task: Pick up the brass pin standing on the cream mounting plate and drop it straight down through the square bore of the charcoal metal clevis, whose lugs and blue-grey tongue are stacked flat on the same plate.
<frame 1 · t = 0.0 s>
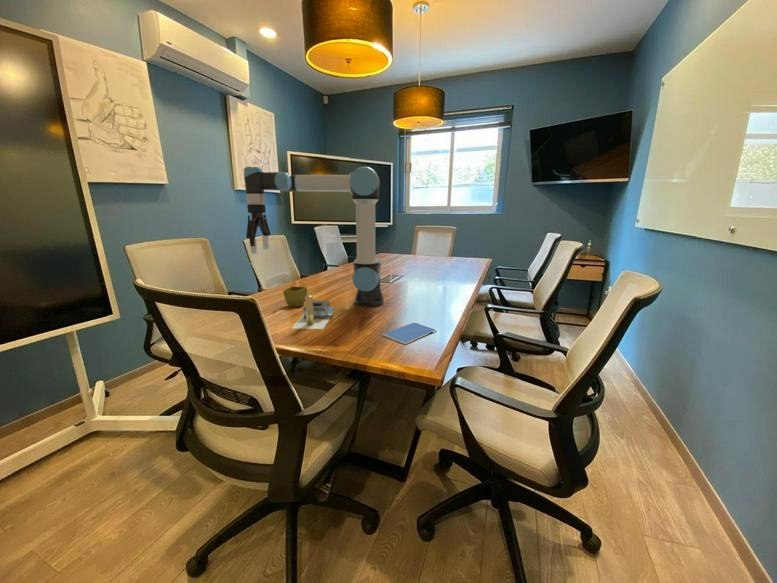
hand: (260, 251, 150), 28 cm above the table, fingers open, 13 cm apart
tablet computer: (410, 335, 128), on the table
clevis: (317, 315, 143), resting on mounting plate
mounting plate: (314, 322, 139), on the table
flower pot: (296, 306, 162), on the table
brass pin: (310, 324, 133), point 1 cm above the table, touching mounting plate
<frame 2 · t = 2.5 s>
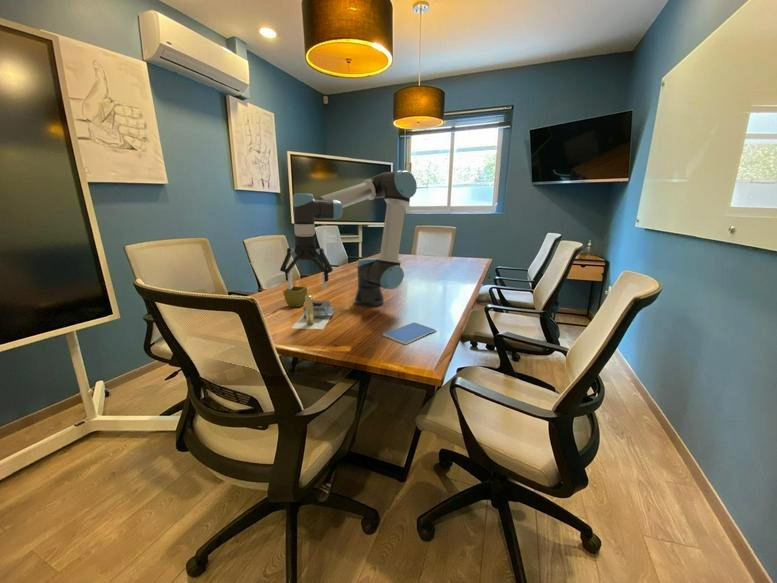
hand: (307, 289, 129), 16 cm above the table, fingers open, 13 cm apart
nothing on the table moved.
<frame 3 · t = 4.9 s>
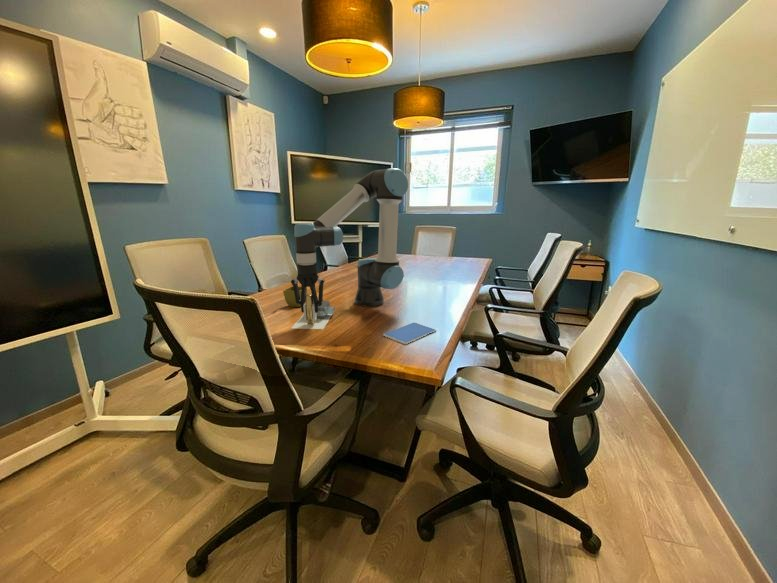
hand: (310, 319, 132), 3 cm above the table, fingers closed on brass pin, 3 cm apart
brass pin: (310, 322, 133), point 2 cm above the table, touching gripper
everything else where it was.
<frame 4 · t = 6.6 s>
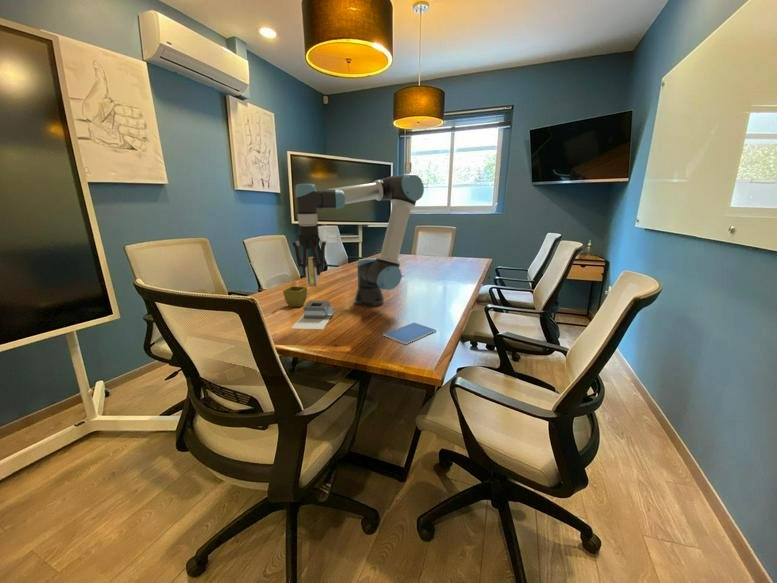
hand: (312, 282, 133), 18 cm above the table, fingers closed on brass pin, 3 cm apart
brass pin: (312, 286, 134), point 16 cm above the table, touching gripper
everything else where it was.
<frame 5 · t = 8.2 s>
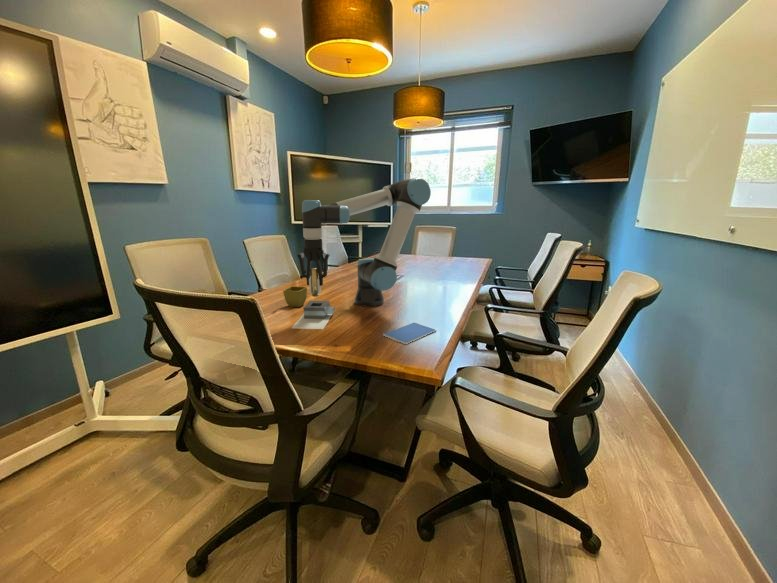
hand: (315, 292, 141), 12 cm above the table, fingers closed on brass pin, 3 cm apart
brass pin: (315, 295, 141), point 11 cm above the table, touching gripper
everything else where it was.
when the fingers open (9 cm above the table, at t = 9.1 s): brass pin drops 4 cm, resting on mounting plate.
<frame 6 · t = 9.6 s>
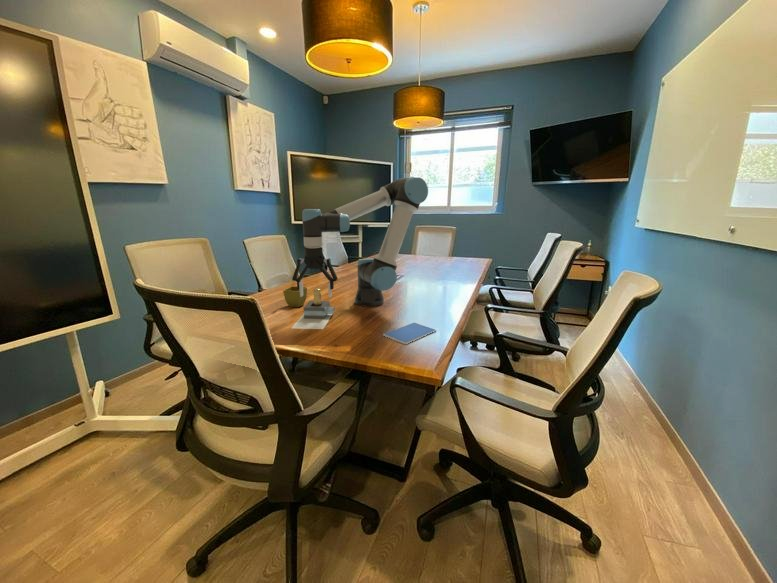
hand: (316, 296, 141), 10 cm above the table, fingers open, 12 cm apart
brass pin: (317, 315, 143), point 2 cm above the table, touching mounting plate
everything else where it was.
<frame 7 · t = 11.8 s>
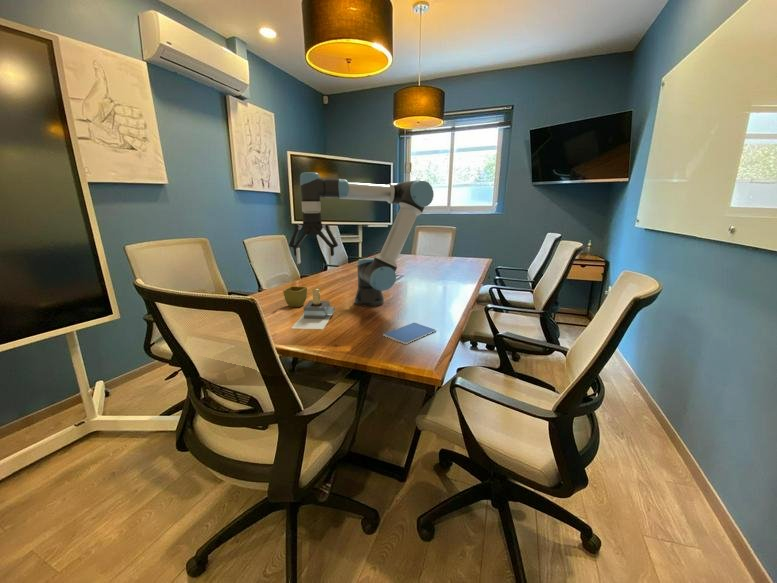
hand: (314, 263, 138), 25 cm above the table, fingers open, 13 cm apart
nothing on the table moved.
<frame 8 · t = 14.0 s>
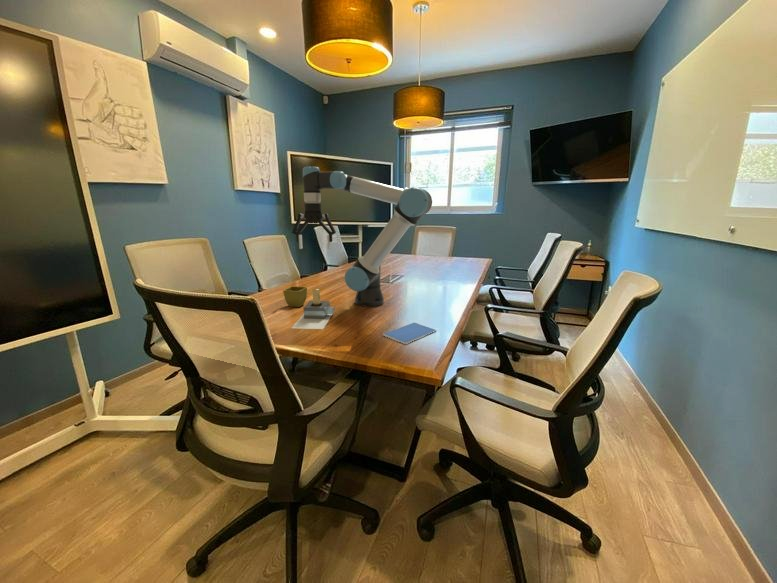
hand: (315, 248, 154), 29 cm above the table, fingers open, 13 cm apart
nothing on the table moved.
at the end: brass pin 0.2 cm off-centre on the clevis, point 0.0 cm above the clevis's base; brass pin tilted 0°; the gripper is holding nothing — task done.
